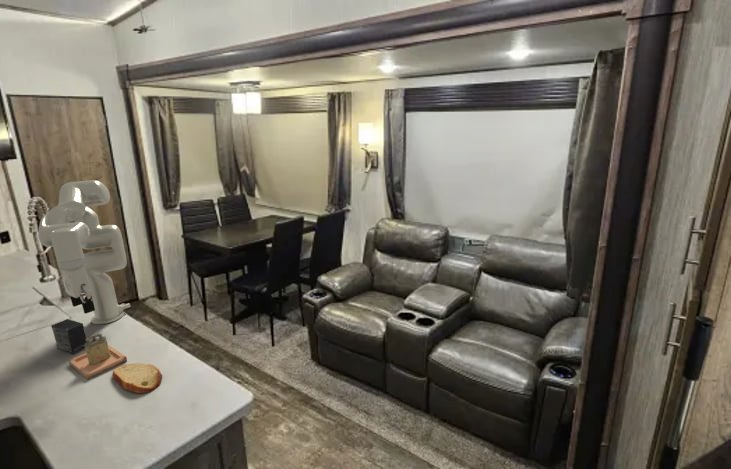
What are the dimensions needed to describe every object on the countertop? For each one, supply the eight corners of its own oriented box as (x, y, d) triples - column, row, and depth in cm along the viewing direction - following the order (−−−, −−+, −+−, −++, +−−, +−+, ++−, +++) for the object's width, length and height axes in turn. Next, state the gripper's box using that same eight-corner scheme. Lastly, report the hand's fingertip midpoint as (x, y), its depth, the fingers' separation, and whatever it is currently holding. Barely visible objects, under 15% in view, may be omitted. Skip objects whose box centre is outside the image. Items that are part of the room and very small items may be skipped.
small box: (90, 346, 158) (83, 322, 155) (72, 354, 152) (66, 330, 149) (74, 340, 162) (67, 317, 159) (56, 349, 156) (49, 325, 153)
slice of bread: (115, 370, 142) (113, 361, 141) (169, 361, 146) (167, 352, 145) (96, 403, 125) (93, 393, 124) (157, 392, 129) (155, 382, 128)
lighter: (108, 353, 150) (102, 330, 147) (112, 356, 148) (107, 333, 145) (87, 363, 145) (80, 339, 142) (91, 366, 143) (85, 342, 140)
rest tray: (107, 347, 156) (106, 343, 155) (127, 360, 147) (126, 356, 146) (69, 364, 146) (68, 360, 145) (87, 379, 137) (86, 375, 136)
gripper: (49, 262, 137) (62, 306, 142) (69, 271, 127) (82, 319, 132) (74, 255, 143) (85, 298, 148) (95, 264, 133) (106, 310, 138)
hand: (83, 308), depth 140 cm, fingers open, 9 cm apart
